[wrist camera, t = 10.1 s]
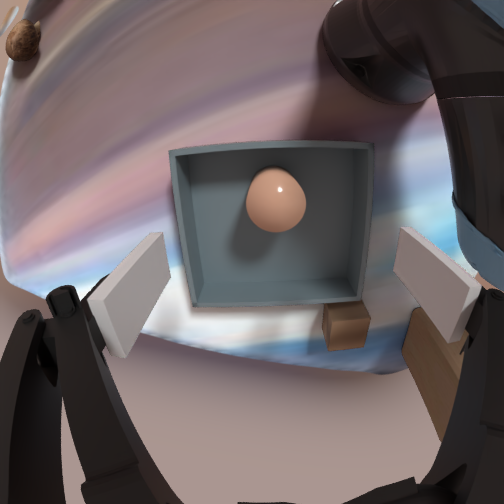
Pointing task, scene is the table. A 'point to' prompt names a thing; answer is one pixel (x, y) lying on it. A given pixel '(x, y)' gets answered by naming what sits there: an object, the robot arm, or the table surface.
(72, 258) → the table surface
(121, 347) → the robot arm
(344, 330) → the walnut cube
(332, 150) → the tote
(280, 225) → the peach colored egg
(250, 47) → the table surface
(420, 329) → the wooden block
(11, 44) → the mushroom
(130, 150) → the table surface
